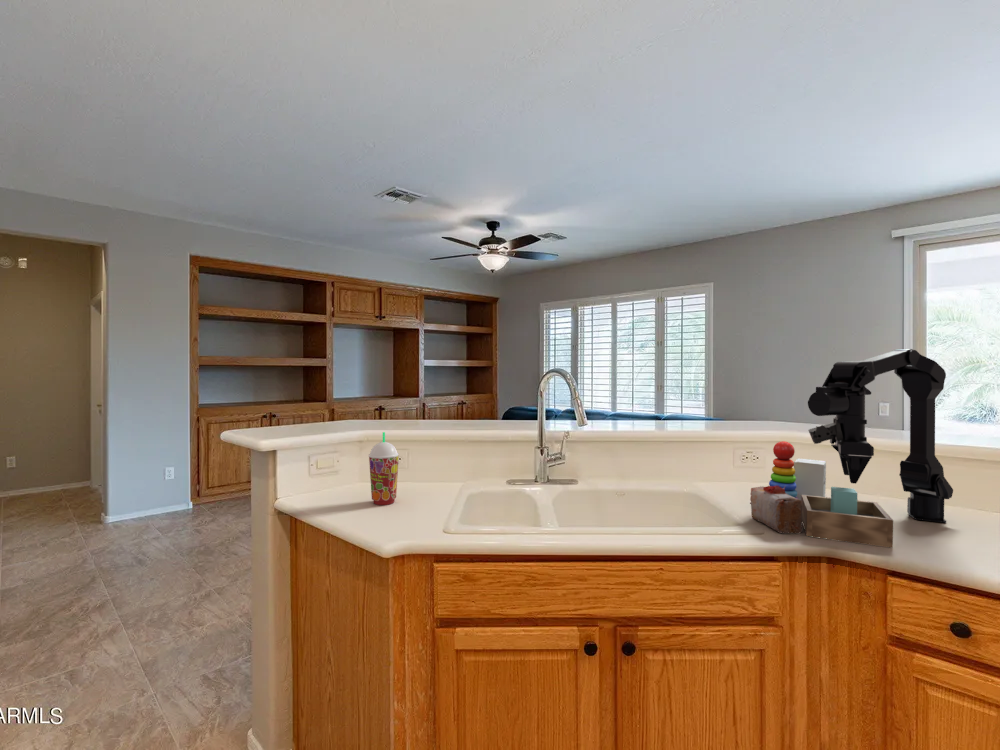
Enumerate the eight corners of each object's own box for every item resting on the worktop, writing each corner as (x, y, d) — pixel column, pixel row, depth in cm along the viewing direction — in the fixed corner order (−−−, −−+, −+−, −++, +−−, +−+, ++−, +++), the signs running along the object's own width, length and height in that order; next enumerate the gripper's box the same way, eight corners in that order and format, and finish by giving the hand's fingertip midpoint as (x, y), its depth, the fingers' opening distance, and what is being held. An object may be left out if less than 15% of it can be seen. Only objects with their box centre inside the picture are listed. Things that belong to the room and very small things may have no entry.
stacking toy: (759, 507, 142) (760, 440, 141) (779, 504, 145) (780, 438, 145) (785, 515, 135) (786, 444, 134) (805, 512, 138) (807, 442, 137)
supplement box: (823, 511, 139) (824, 464, 138) (792, 506, 143) (792, 461, 143) (826, 505, 145) (826, 460, 144) (795, 501, 149) (796, 457, 149)
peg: (853, 530, 123) (853, 488, 123) (856, 536, 119) (857, 493, 119) (830, 527, 125) (831, 486, 125) (833, 533, 121) (833, 490, 121)
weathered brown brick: (745, 517, 133) (745, 479, 133) (775, 516, 134) (775, 479, 134) (775, 534, 120) (776, 492, 120) (809, 534, 120) (809, 492, 120)
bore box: (876, 526, 126) (877, 502, 125) (892, 547, 111) (893, 520, 111) (801, 517, 133) (801, 494, 133) (806, 536, 118) (807, 510, 118)
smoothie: (362, 504, 143) (362, 433, 143) (380, 497, 151) (380, 429, 151) (387, 508, 140) (387, 435, 140) (404, 500, 148) (404, 431, 148)
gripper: (807, 409, 135) (807, 468, 135) (815, 417, 118) (815, 484, 118) (858, 410, 130) (858, 472, 130) (874, 418, 113) (874, 489, 114)
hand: (849, 479), depth 123 cm, fingers open, 9 cm apart
